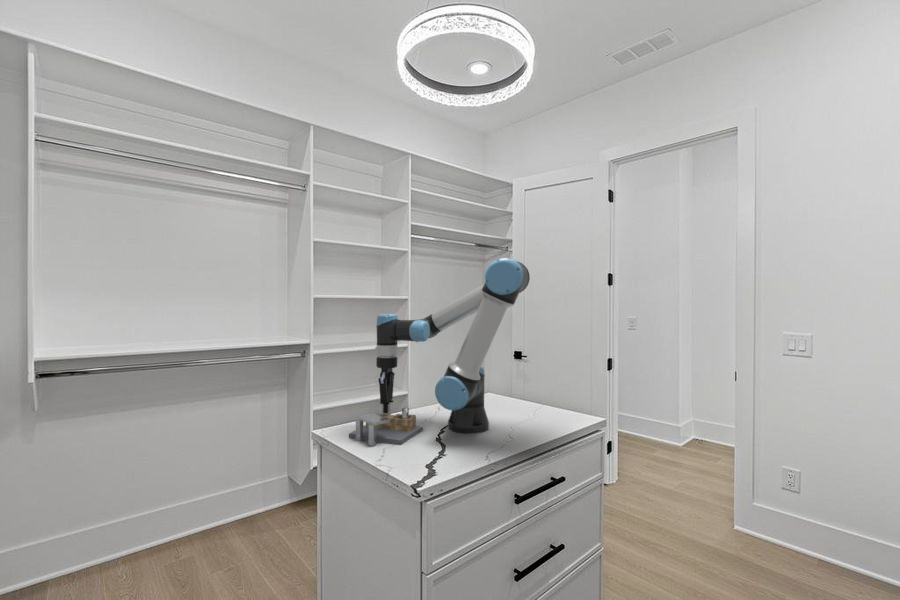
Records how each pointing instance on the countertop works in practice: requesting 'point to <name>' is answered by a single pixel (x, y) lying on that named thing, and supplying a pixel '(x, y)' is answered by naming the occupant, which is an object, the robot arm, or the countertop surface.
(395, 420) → the link
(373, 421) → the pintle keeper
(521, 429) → the countertop surface
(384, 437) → the base plate
